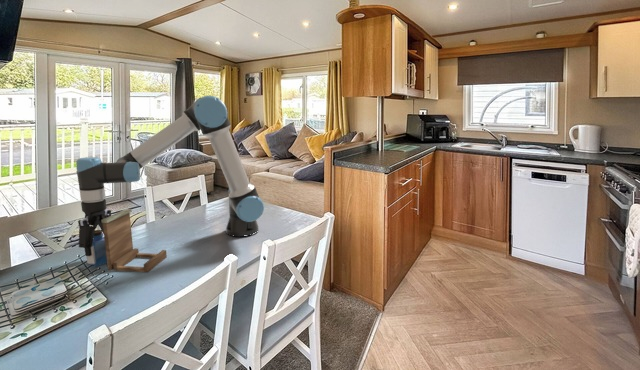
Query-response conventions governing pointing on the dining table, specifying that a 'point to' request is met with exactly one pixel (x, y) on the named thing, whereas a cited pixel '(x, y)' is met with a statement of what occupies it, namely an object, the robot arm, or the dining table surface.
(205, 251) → the dining table surface
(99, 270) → the dining table surface
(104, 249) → the perfume bottle
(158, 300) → the dining table surface
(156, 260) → the wooden l-shaped stand
